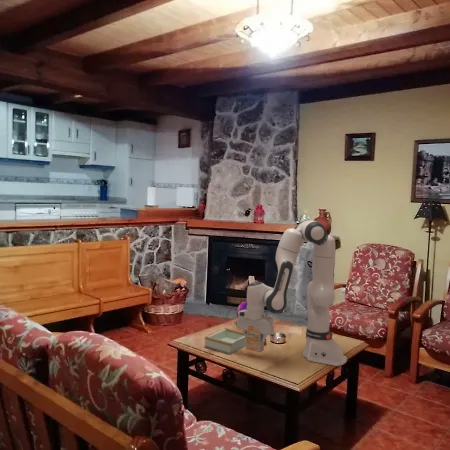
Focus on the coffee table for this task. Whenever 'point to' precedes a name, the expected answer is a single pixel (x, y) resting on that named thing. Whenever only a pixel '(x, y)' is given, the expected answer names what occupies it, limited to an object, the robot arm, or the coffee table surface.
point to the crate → (226, 341)
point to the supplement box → (254, 339)
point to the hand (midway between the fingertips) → (254, 340)
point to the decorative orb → (242, 307)
